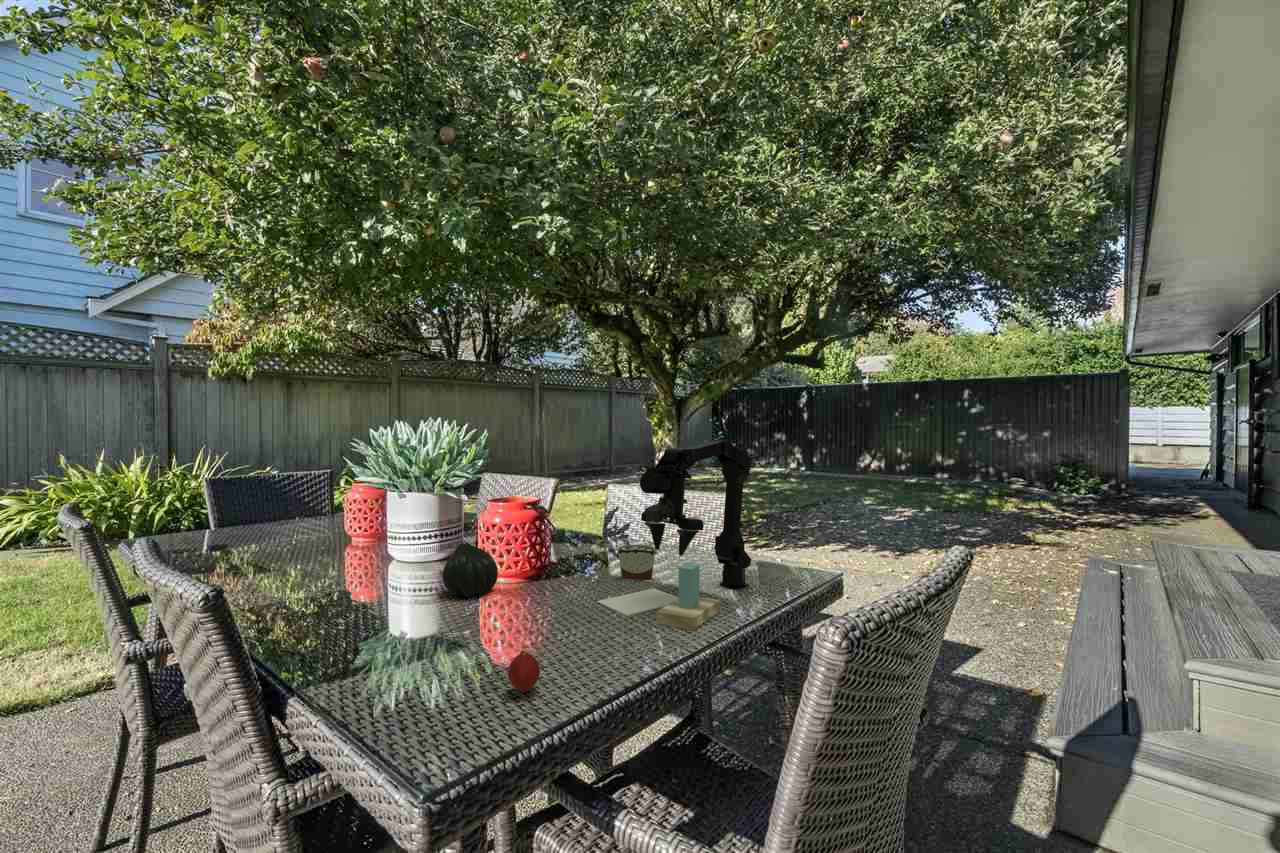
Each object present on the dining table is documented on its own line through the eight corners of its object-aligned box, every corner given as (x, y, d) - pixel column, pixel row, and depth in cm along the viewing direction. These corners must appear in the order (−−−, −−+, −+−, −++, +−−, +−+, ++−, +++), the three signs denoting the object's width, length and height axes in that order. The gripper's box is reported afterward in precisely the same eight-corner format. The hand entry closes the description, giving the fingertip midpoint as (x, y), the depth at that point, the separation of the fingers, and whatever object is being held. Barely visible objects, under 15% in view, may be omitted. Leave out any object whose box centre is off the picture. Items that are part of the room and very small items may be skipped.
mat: (653, 589, 178) (653, 588, 178) (686, 601, 167) (686, 600, 167) (596, 602, 166) (596, 601, 166) (627, 616, 155) (627, 614, 155)
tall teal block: (686, 601, 157) (687, 563, 157) (699, 603, 155) (699, 564, 155) (678, 607, 153) (678, 567, 152) (691, 609, 151) (691, 569, 151)
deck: (684, 605, 163) (684, 594, 163) (719, 611, 159) (719, 600, 158) (656, 623, 149) (656, 611, 149) (694, 630, 145) (694, 618, 144)
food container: (657, 576, 193) (658, 544, 193) (656, 581, 187) (656, 548, 187) (619, 574, 194) (619, 543, 194) (616, 580, 188) (616, 547, 188)
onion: (510, 685, 115) (510, 643, 115) (541, 684, 116) (540, 642, 116) (506, 699, 110) (506, 655, 109) (538, 698, 110) (538, 654, 110)
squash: (511, 576, 172) (491, 531, 179) (463, 588, 162) (443, 541, 168) (493, 600, 180) (474, 557, 187) (445, 614, 170) (427, 568, 176)
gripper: (628, 490, 167) (623, 547, 166) (677, 497, 153) (671, 560, 152) (658, 491, 174) (653, 546, 173) (707, 498, 160) (702, 558, 159)
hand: (668, 552), depth 164 cm, fingers open, 9 cm apart
